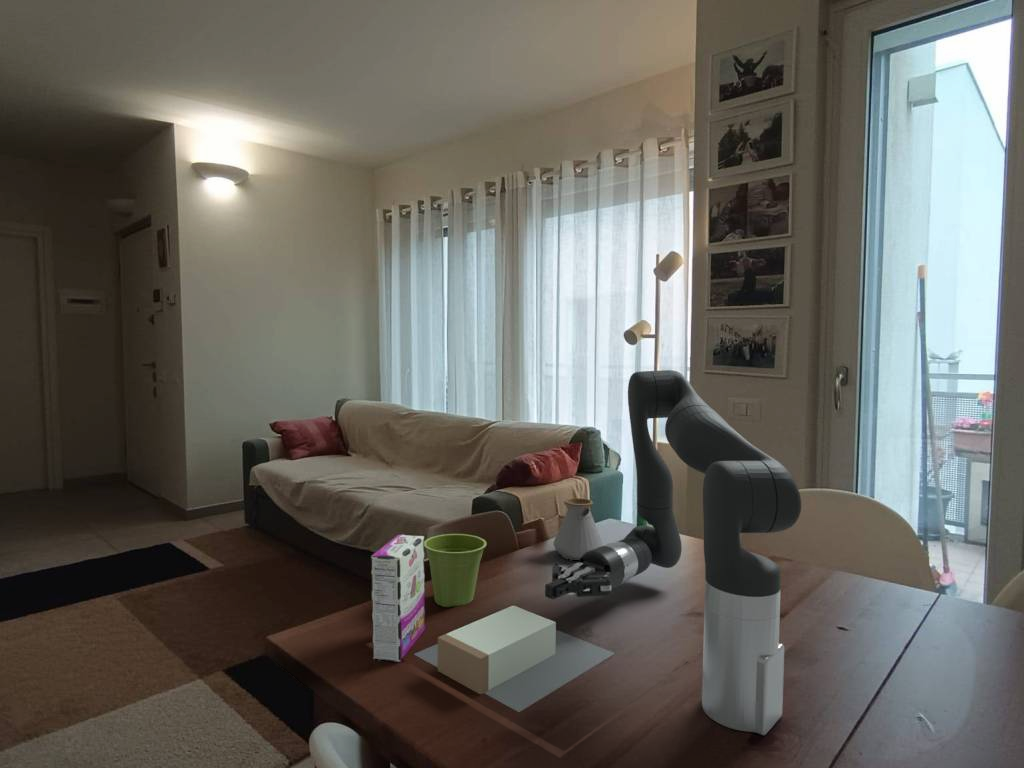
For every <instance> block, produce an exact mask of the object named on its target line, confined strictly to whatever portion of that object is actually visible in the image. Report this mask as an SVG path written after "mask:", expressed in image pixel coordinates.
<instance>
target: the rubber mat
mask: <svg viewBox="0 0 1024 768" xmlns="http://www.w3.org/2000/svg"><path fill="white" fill-rule="evenodd" d="M615 654H616V653H615V652H613V651H611V650H608V649H605V648H604V647H600V646H598V645H595V644H593V643H592V642H588V641H585V640H583V639H580V638H578V637H575V636H573V635H570V634H568V633H565V632H563V631H561V630H558V629H556V645H555V654H554V655H552V656H551V657H549V658H547V659H545V660H543V661H541V662H540V663H538V664H536V665H534V666H532V667H530V668H529V669H527V670H525V671H523V672H521V673H519V674H518V675H516V676H514V677H512V678H510V679H508V680H507V681H505V682H503V683H501V684H499V685H497V686H496V687H494V688H492V689H490V690H488V691H486V692H485V693H483V694H485V695H486V696H488V697H490V698H491V699H493V700H495V701H497V702H499V703H501V704H503V705H505V706H507V707H508V708H510V709H511V710H514V711H516V712H518V713H520V712H522V711H524V710H525V709H527V708H529V707H530V706H532V705H534V704H535V703H537V702H538V701H540V700H542V699H544V698H545V697H546V696H548V695H551V694H552V693H554V692H555V691H557V690H559V688H562V687H563V686H565V685H566V684H569V683H570V682H571V681H573V680H575V679H576V678H578V677H579V676H581V675H582V674H584V673H586V672H587V671H589V670H591V669H592V668H594V667H596V666H597V665H598V664H600V663H603V662H604V661H605V660H607V659H609V658H611V657H612V656H613V655H615ZM413 656H415V657H417V658H419V659H421V660H422V661H424V662H427V663H428V664H430V665H431V666H433V667H436V668H437V669H438V643H436V644H433V645H432V646H430V647H427V648H424V649H422V650H420V651H418V652H415V653H413Z"/></svg>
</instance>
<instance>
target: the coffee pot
mask: <svg viewBox="0 0 1024 768" xmlns="http://www.w3.org/2000/svg"><path fill="white" fill-rule="evenodd" d="M563 504H564V505H565V507H566V509H567V511H566V513H565V516H564V518H563V520H562V522H561V525H560V526H559V528H558V531H557V534H556V535H555V538H554V541H553V547H554V549H555V550H556V552H557V553H558V554H560V555H562V556H561V557H562V558H563V557H564V558H563V559H565V558H566V560H568V559H570V560H569V561H572V560H580V558H581V557H582V555H583V554H584V553H586V552H588V551H590V550H593V549H596V548H598V547H601V546H603V545H604V542H603V540H602V538H601V535H600V533H599V530H598V528H597V525H596V522H595V520H594V517H593V511H592V510H591V506H592V505H593V504H594V501H593V500H592V499H588V498H583V497H582V498H580V497H578V498H577V497H576V498H575V497H573V498H568V499H566V500H564V501H563Z"/></svg>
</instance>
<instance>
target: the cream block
mask: <svg viewBox="0 0 1024 768" xmlns="http://www.w3.org/2000/svg"><path fill="white" fill-rule="evenodd" d="M556 627H557V623H556V621H554V620H552V619H548V618H546V617H543V616H541V615H538V614H536V613H534V612H531V611H528V610H526V609H523V608H520V607H519V606H516V605H511V606H508V607H506V608H504V609H501V610H499V611H497V612H495V613H492V614H490V615H488V616H485V617H483V618H480V619H478V620H476V621H473V622H471V623H469V624H466V625H464V626H462V627H459V628H457V629H454V630H452V631H450V632H447V633H445V634H442V635H440V636H437V644H438V668H437V672H439V673H441V674H442V675H444V676H446V677H448V678H450V679H451V680H454V681H455V682H457V683H459V684H461V685H462V686H464V687H465V688H468V689H470V690H471V691H473V692H475V693H476V694H479V695H480V696H481V695H483V694H484V693H485V692H486V691H488V690H490V689H492V688H494V687H496V686H497V685H499V684H501V683H503V682H505V681H507V680H508V679H510V678H512V677H514V676H516V675H518V674H519V673H521V672H523V671H525V670H527V669H529V668H530V667H532V666H534V665H536V664H538V663H540V662H541V661H543V660H545V659H547V658H549V657H551V656H552V655H554V654H555V645H556V630H557V629H556Z"/></svg>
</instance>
